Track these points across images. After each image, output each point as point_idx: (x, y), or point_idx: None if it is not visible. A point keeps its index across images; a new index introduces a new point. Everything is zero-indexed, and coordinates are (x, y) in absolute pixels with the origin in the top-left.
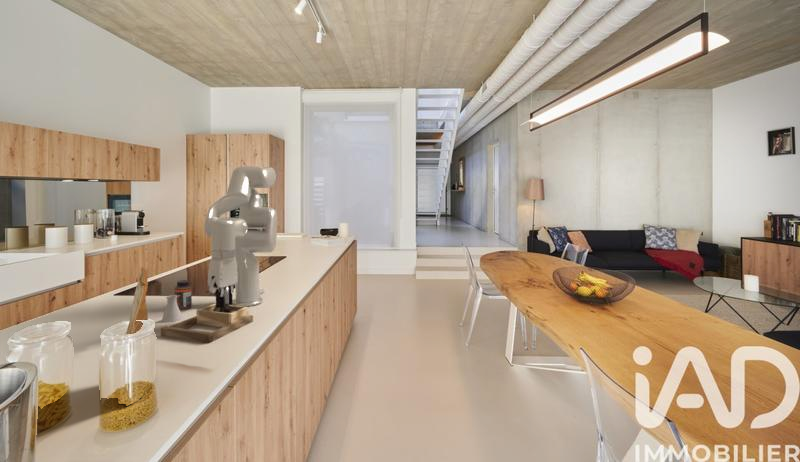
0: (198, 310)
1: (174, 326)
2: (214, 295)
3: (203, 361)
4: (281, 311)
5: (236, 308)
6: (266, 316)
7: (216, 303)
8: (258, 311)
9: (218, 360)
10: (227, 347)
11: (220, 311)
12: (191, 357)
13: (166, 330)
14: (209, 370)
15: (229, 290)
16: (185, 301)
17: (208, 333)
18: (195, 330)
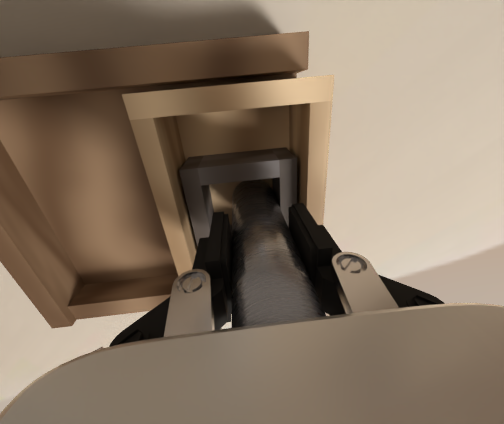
0: (129, 114)
1: None
2: (175, 281)
3: (26, 332)
4: (459, 247)
5: None
6: (394, 240)
7: (199, 242)
8: (461, 171)
9: (58, 349)
10: (119, 318)
11: (232, 213)
12: (10, 298)
13: None
14: (17, 365)
15: (340, 312)
16: None
17: (54, 320)
18: (27, 266)
